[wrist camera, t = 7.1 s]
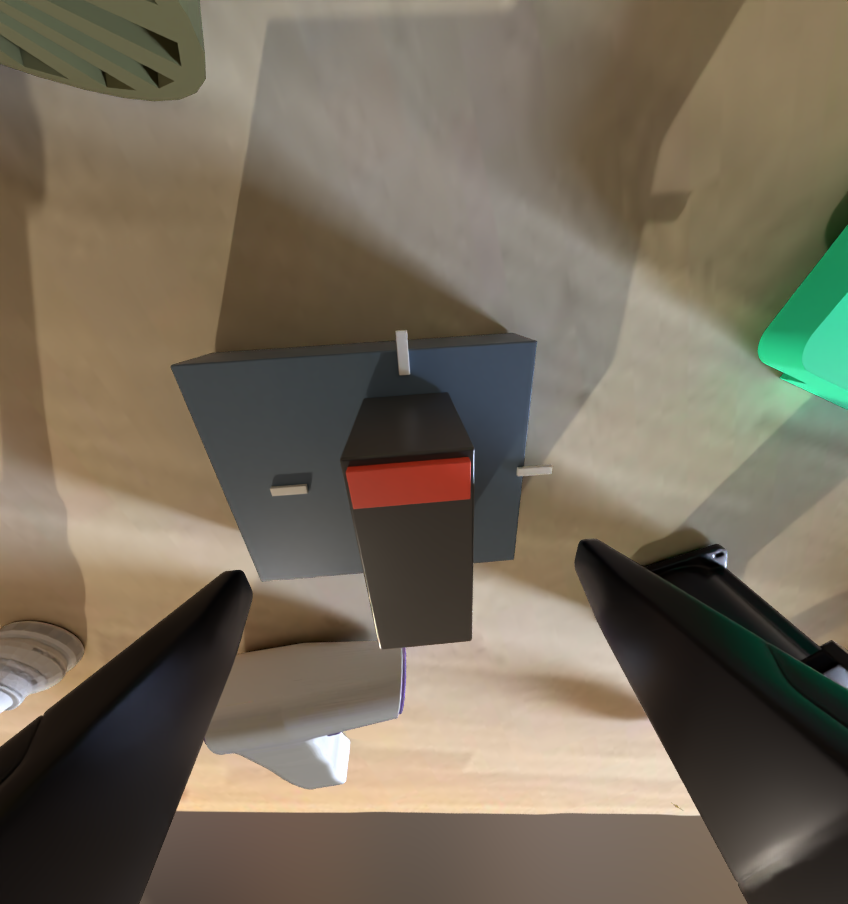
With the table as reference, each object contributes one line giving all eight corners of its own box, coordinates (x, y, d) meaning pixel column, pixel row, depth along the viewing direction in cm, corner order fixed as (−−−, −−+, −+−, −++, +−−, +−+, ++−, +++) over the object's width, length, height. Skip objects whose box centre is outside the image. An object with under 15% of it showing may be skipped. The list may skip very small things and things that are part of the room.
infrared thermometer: (305, 732, 28) (219, 646, 20) (437, 710, 27) (403, 614, 20) (289, 809, 24) (175, 739, 16) (444, 785, 23) (404, 701, 16)
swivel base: (542, 314, 12) (575, 319, 10) (518, 532, 17) (536, 569, 15) (206, 336, 12) (157, 346, 9) (283, 552, 17) (263, 594, 15)
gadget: (452, 542, 14) (473, 649, 10) (386, 548, 14) (378, 658, 10) (448, 391, 11) (478, 452, 7) (362, 397, 11) (336, 464, 6)
